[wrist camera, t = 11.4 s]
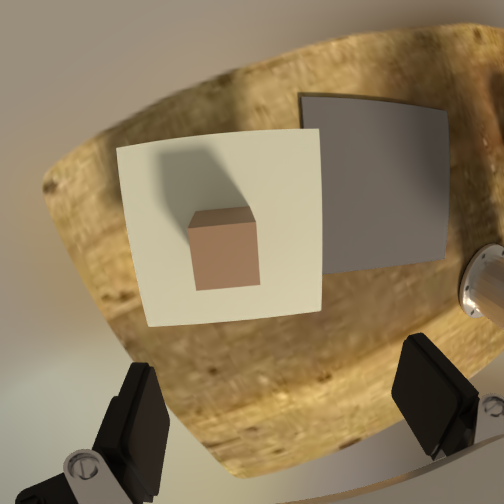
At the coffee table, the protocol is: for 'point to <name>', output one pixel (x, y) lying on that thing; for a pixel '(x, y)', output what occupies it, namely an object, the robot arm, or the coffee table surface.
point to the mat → (380, 182)
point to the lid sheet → (223, 184)
